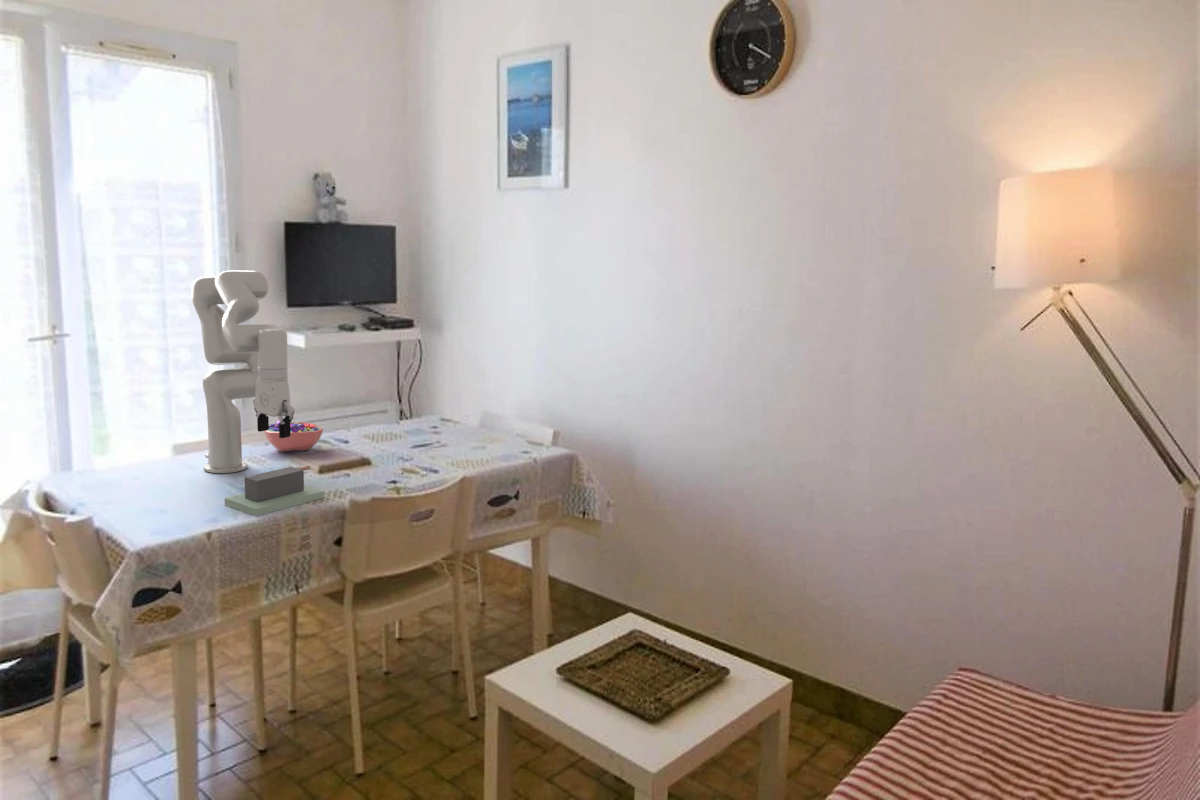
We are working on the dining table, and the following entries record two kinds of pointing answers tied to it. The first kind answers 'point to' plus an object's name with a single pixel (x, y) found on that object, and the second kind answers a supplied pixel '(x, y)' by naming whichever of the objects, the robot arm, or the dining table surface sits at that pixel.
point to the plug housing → (274, 483)
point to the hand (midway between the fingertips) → (273, 433)
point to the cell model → (294, 436)
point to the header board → (273, 501)
